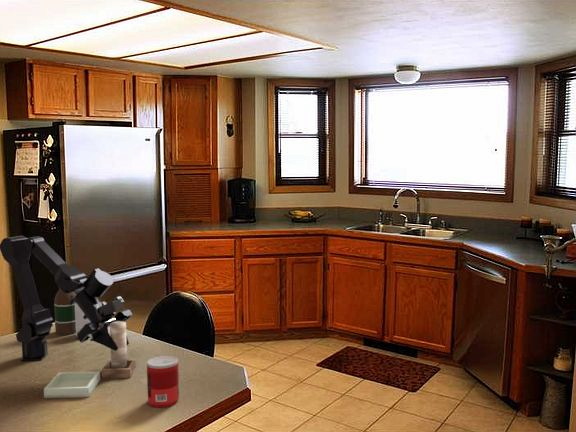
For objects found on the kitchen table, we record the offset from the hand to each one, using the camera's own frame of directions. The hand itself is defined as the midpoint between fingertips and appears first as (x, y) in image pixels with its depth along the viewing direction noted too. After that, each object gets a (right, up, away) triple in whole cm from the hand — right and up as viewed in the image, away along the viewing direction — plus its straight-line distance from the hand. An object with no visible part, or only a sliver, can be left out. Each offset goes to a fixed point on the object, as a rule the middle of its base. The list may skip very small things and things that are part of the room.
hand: (122, 347), depth 165 cm
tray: (-10, -9, -10) cm, 17 cm away
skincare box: (-24, -4, +37) cm, 44 cm away
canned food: (+16, -10, -18) cm, 26 cm away
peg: (-1, -7, +1) cm, 7 cm away
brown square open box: (-1, -8, +1) cm, 8 cm away
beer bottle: (-32, -4, +40) cm, 52 cm away
